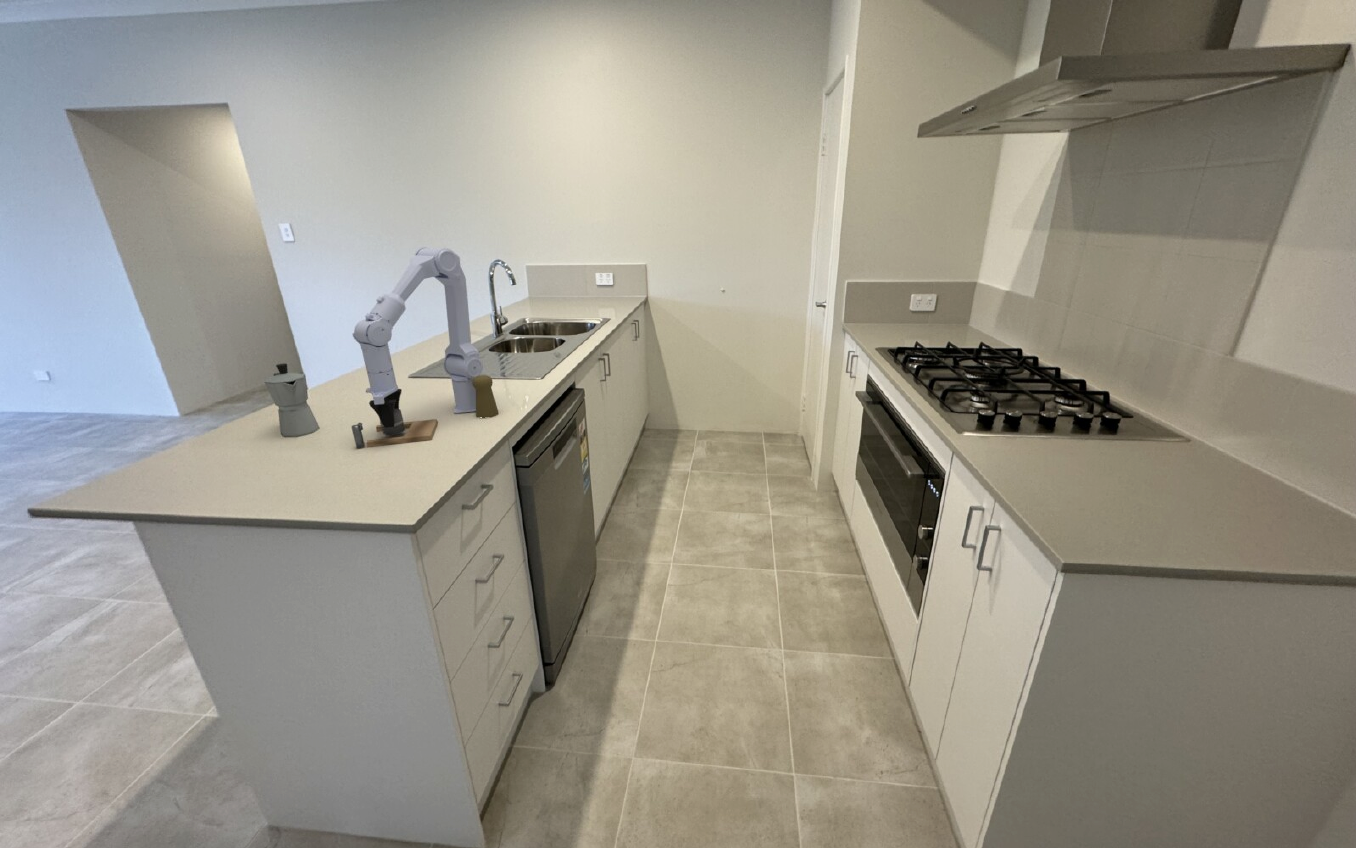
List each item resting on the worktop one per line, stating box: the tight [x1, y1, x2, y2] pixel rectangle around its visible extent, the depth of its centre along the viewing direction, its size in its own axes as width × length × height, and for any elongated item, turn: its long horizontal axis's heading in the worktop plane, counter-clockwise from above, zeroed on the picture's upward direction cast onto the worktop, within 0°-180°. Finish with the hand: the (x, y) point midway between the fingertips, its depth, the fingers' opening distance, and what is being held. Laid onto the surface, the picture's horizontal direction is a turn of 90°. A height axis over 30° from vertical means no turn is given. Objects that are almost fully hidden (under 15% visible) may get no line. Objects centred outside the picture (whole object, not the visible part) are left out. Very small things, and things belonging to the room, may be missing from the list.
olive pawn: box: [472, 374, 499, 419], centre depth 151 cm, size 6×6×11 cm
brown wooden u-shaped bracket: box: [365, 418, 439, 448], centre depth 140 cm, size 14×12×1 cm
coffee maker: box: [264, 363, 321, 438], centre depth 141 cm, size 15×9×18 cm, turn 47°
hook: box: [351, 422, 366, 450], centre depth 133 cm, size 2×5×6 cm, turn 16°
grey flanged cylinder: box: [379, 408, 406, 436], centre depth 138 cm, size 5×5×5 cm
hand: (391, 422), depth 138 cm, fingers closed on grey flanged cylinder, 5 cm apart
